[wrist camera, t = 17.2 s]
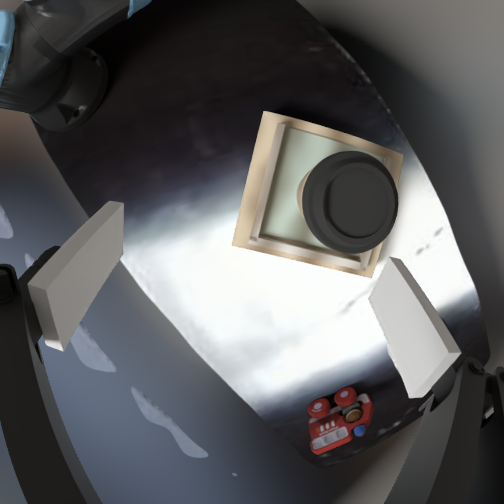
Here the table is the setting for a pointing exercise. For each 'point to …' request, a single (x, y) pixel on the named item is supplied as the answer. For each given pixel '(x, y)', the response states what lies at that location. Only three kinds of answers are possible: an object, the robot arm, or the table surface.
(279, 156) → the tray
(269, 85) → the table surface
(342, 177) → the coffee cup
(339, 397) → the toy fire truck
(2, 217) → the table surface
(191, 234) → the table surface
